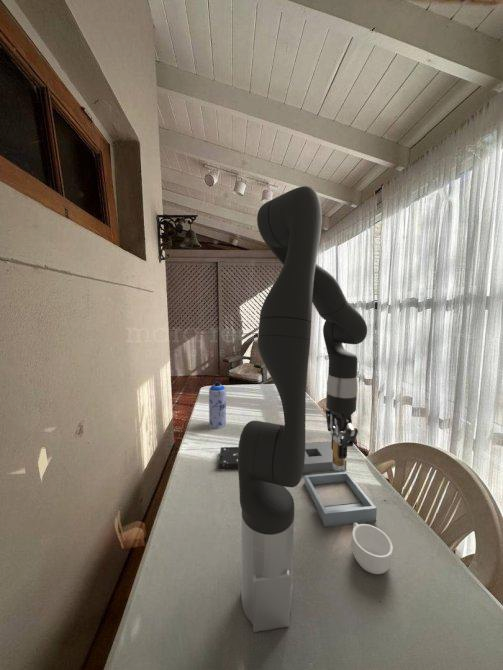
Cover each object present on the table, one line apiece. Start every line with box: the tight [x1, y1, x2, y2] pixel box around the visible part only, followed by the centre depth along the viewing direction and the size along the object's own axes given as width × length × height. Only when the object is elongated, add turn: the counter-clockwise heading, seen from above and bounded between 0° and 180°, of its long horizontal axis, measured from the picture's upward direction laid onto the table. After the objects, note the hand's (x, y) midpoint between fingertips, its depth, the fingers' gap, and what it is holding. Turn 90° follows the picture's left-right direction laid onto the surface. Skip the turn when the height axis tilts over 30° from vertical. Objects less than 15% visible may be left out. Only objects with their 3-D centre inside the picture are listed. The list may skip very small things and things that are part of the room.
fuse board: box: [303, 441, 348, 474], centre depth 89 cm, size 12×18×4 cm, turn 98°
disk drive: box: [218, 446, 238, 471], centre depth 91 cm, size 10×3×15 cm
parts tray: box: [303, 471, 378, 528], centre depth 72 cm, size 15×14×4 cm
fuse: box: [332, 434, 346, 472], centre depth 70 cm, size 3×3×9 cm
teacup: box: [351, 523, 394, 575], centre depth 56 cm, size 10×8×5 cm
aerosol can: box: [208, 380, 227, 430], centre depth 117 cm, size 8×8×20 cm
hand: (338, 453), depth 70 cm, fingers closed on fuse, 3 cm apart
